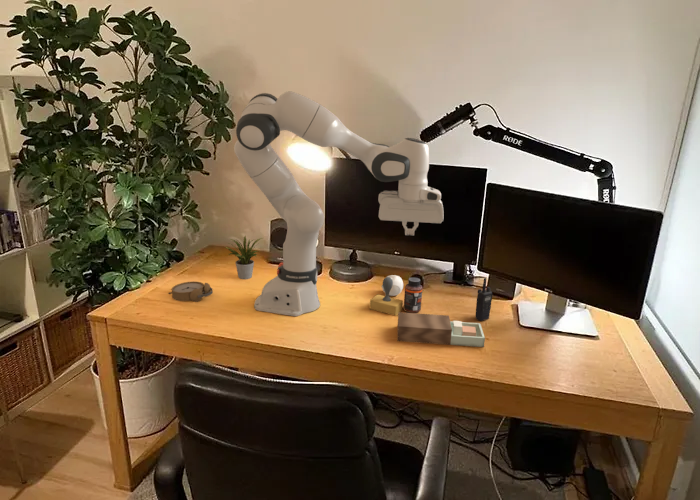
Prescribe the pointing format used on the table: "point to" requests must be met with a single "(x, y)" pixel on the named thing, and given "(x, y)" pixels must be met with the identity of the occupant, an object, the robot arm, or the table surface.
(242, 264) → the house plant
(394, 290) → the motion sensor
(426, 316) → the dark wooden box
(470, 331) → the terracotta tile
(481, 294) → the two-way radio
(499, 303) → the table surface
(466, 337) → the tray
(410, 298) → the supplement bottle
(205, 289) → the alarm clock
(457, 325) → the cream tile
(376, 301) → the rubber stamp
